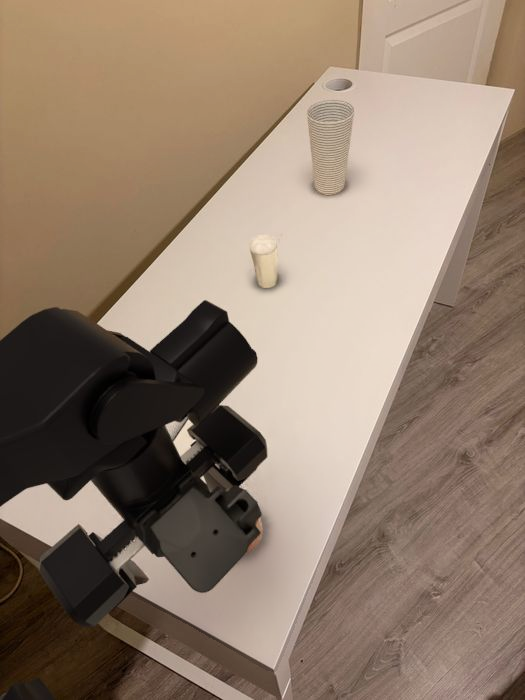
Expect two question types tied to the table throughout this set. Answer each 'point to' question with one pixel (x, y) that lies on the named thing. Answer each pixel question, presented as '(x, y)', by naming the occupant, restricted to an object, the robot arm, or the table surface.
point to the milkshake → (265, 259)
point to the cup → (330, 143)
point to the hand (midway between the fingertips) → (184, 538)
